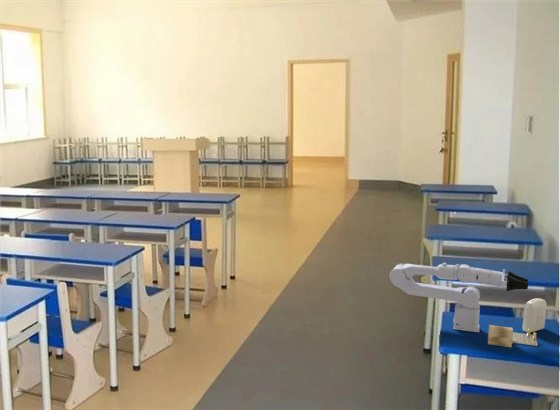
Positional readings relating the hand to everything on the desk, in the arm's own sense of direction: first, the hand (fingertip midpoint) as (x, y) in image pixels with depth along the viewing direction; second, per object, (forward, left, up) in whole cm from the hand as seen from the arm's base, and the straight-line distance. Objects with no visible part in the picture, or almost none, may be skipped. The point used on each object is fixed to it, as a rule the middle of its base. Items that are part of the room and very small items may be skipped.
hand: (527, 284), depth 218 cm
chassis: (-2, -4, -20) cm, 21 cm away
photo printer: (+4, +9, -21) cm, 23 cm away
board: (-9, -11, -21) cm, 25 cm away
